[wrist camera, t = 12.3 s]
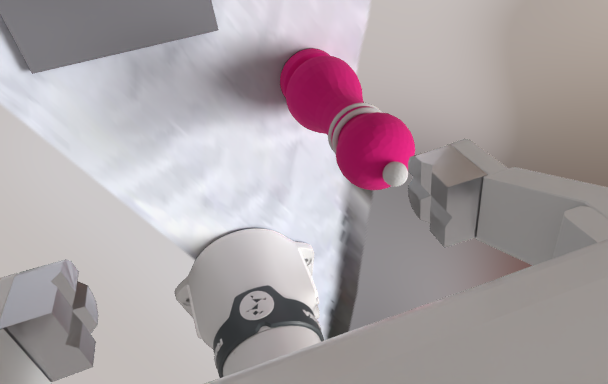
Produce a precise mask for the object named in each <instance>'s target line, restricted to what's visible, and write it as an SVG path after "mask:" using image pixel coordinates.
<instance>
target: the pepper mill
mask: <svg viewBox="0 0 608 384" xmlns="http://www.w3.org/2000/svg"><path fill="white" fill-rule="evenodd" d="M280 85H281V90H282V93H283V95H284V96H285V98H286V101H287V105H288V108H289V111H290V113H291V114H292V116H293V117H294V118H295V119H296V120H297V121H298V122H299V123H300V124H301V125H302V126H304V127H305V128H307V129H309V130H312V131H315V132H319V133H325V134H327V135H328V141H329V144H330V147H331V149H332V150H333V151H334V152H335V154H336V159H337V164H338V166H339V168H340V170H341V172H342V174H343V175H344V176H345V177H346V178H347V179H348V180H349V181H350V182H351V183H352V184H354V185H356V186H358V187H360V188H363V189H368V190H381V189H385V188H388V187H390V186H400V185H402V184H403V183H404V182H405V181H406V180H407V177H408V161H409V158H410V157H411V156H414V154H415V144H414V140H413V137H412V134H411V132H410V131H409V129H408V128H407V127H406V125H405V124H404V123H403V122H402V121H401V120H400V119H398V118H396V117H394V116H392V115H390V114H388V113H382V112H381V111H380V110H379V109H378V108H377V107H375V106H374V105H372V104H369V103H364V102H363V98H362V89H361V85H360V82H359V80H358V77H357V75H356V74H355V72H354V71H353V70H352V69H351V67H350V66H349V65H348V64H347V63H346V62H344V61H343V60H341V59H339V58H336V57H333V56H330V55H329V54H327V53H326V52H324V51H322V50H319V49H313V48H311V49H305V50H302V51H299V52H297V53H296V54H294V55H293V56H292V57H291V58H290V59H289V60H288V61H287V62H286V64H285V65H284V67H283V69H282V72H281V76H280Z"/></svg>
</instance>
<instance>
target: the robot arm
mask: <svg viewBox="0 0 608 384" xmlns="http://www.w3.org/2000/svg"><path fill="white" fill-rule="evenodd" d="M408 172H409V173H410V174H411V175H412V176H413V179H412V181H411V182H410V183H409V185H408V196H409V199H410V203H411V207H412V209H413V210H414V212H415V214H416V215H417V216H418V218H419V219H420V220H422V221H425V222H428V223H430V232H431V233H432V234H433V235H434V236H435V237H436V239H437V240H438V241H439V242H440V243H441V244H442V246H443V247H444V248H445V247H448V246H452V245H455V244H458V243H461V242H465V241H468V240H471V239H474V238H476V240H478V241H481V242H483V243H485V244H487V245H489V246H492V247H494V248H496V249H498V250H500V251H502V252H505V253H507V254H509V255H511V256H513V257H516V258H518V259H520V260H522V261H524V262H526V263H529V264H531V265H533V266H531V267H528V268H525V269H523V270H520V271H517V272H514V273H512V274H509V275H506V276H503V277H501V278H498V279H495V280H492V281H490V282H487V283H484V284H481V285H478V286H476V287H473V288H470V289H467V290H465V291H462V292H459V293H456V294H453V295H451V296H448V297H445V298H442V299H439V300H437V301H434V302H431V303H428V304H426V305H423V306H420V307H417V308H415V309H411V310H409V311H406V312H403V313H400V314H397V315H395V316H392V317H389V318H386V319H383V320H381V321H378V322H375V323H372V324H369V325H366V326H364V327H361V328H358V329H355V330H353V331H350V332H347V333H344V334H341V335H339V336H336V337H333V338H330V339H327V340H325V341H324V338H323V335H322V332H321V328H320V325H319V322H318V321H317V319H318V318H319V316H320V314H319V308H318V305H317V304H319V298H318V292H317V289H316V287H315V284H314V282H313V279H312V272H313V262H314V250H313V247H312V246H311V245H310V244H307V243H302V242H295V241H292V240H290V239H289V238H287V237H286V236H284V235H282V234H281V233H278V232H276V231H272V230H268V229H245V230H240V231H236V232H233V233H230V234H228V235H225V236H223V237H221V238H219V239H217V240H216V241H214V242H213V243H211V244H210V245H209V246H208V247H206V248H205V249H204V250H203V251H202V252H201V254H200V255H199V256H198V257H197V259H196V260H195V262H194V264H193V266H192V269H191V271H190V273H189V275H188V277H187V278H186V279H185V280H183V281H182V282H181V283H180V284H179V285H178V287H177V288H176V289H175V296H176V299H177V301H178V302H179V303H180V304H181V305H182V306H183V307H184V308H185V309H186V311H187V312H188V313H189V314H190V315H191V316H192V317H193V319H194V323H195V327H196V332H197V335H198V337H199V338H202V339H203V341H204V342H205V343H206V344H207V345H208V346H209V347H211V348H212V349H213V350H214V355H215V356H214V360H215V365H216V368H217V369H218V373H219V377H220V378H219V379H216V380H213V381H211V382H208V383H205V384H608V187H603V186H599V185H594V184H590V183H585V182H581V181H576V180H571V179H567V178H562V177H558V176H553V175H549V174H544V173H540V172H534V171H531V170H525V169H521V168H517V167H513V168H510V169H509V168H507V167H506V166H505V165H503V164H502V163H501V162H499V161H498V160H496V159H495V158H494V157H492V156H491V155H490V154H488V153H487V152H486V151H484V150H483V149H482V148H480V147H479V146H478V145H476V144H475V143H474V142H472V141H471V140H468V139H463V140H460V141H457V142H454V143H451V144H448V145H446V146H444V147H440V148H437V149H433V150H431V151H427V152H424V153H421V154H418V155H414V156H411V157H410V158H409V161H408ZM78 274H79V271H78V270H77V269H76V267H75V266H74V264H73V263H72V261H69V260H62V261H59V262H55V263H52V264H48V265H44V266H41V267H37V268H33V269H30V270H26V271H23V272H20V273H16V274H13V275H9V276H6V277H3V278H0V384H52V383H51V382H53V381H56V380H59V379H62V378H64V377H67V376H70V375H72V374H75V373H78V372H81V371H83V370H86V369H89V368H91V367H93V361H94V352H95V343H96V342H95V340H94V338H93V337H92V335H91V333H92V332H93V330H94V329H95V328H96V326H97V323H98V311H97V304H96V301H95V298H94V296H93V293H92V292H91V290H90V288H89V287H88V286H87V285H85V284H83V283H80V282H78V281H77V280H78Z"/></svg>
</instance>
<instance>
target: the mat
mask: <svg viewBox="0 0 608 384" xmlns="http://www.w3.org/2000/svg"><path fill="white" fill-rule="evenodd" d="M0 15H1V17H2V18H3V20H4V22H5V24H6V26H7V28H8V30H9V31H10V33H11V35H12V37H13V39H14V41H15V43H16V45H17V46H18V48H19V50H20V52H21V54H22V56H23V58H24V60H25V61H26V63H27V65H28V67H29V69H30V71H31V73H32V74H33V73H37V72H42V71H46V70H50V69H55V68H59V67H63V66H67V65H72V64H76V63H80V62H85V61H89V60H93V59H97V58H102V57H106V56H110V55H115V54H119V53H123V52H127V51H132V50H136V49H140V48H145V47H149V46H153V45H157V44H162V43H166V42H170V41H174V40H179V39H183V38H187V37H192V36H196V35H200V34H204V33H209V32H213V31H217V30H218V26H217V22H216V18H215V14H214V10H213V6H212V2H211V0H0Z"/></svg>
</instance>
